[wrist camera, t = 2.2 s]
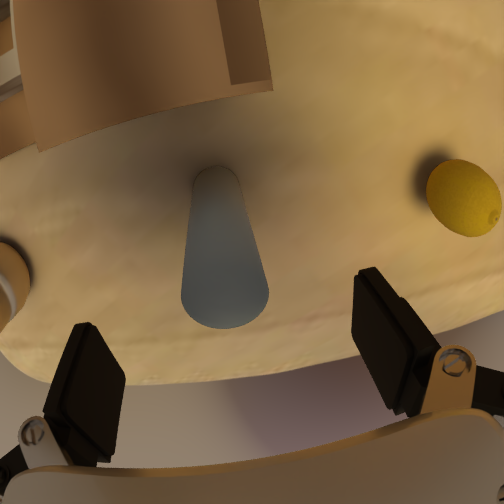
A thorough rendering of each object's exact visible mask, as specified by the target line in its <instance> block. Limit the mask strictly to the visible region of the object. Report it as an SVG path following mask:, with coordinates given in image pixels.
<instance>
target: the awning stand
mask: <svg viewBox="0 0 504 504" xmlns="http://www.w3.org/2000/svg"><path fill="white" fill-rule="evenodd" d="M265 91H273V84H272V78H271V72H270V65H269V59H268V53H267V47H266V41H265V35H264V29H263V23H262V18H261V12H260V7H259V1H258V0H0V159H1V158H3V157H5V156H7V155H9V154H11V153H13V152H15V151H17V150H19V149H21V148H24V147H26V146H28V145H30V144H32V143H34V142H36V143H37V147H38V150H39V153H40V152H42V151H44V150H47V149H49V148H52V147H54V146H57V145H59V144H62V143H64V142H67V141H69V140H72V139H75V138H77V137H80V136H83V135H86V134H89V133H91V132H94V131H97V130H100V129H103V128H106V127H109V126H113V125H116V124H119V123H122V122H126V121H129V120H132V119H136V118H139V117H143V116H146V115H150V114H154V113H158V112H162V111H166V110H170V109H174V108H178V107H182V106H187V105H191V104H196V103H201V102H205V101H211V100H216V99H221V98H227V97H232V96H238V95H244V94H251V93H258V92H265Z"/></svg>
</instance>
